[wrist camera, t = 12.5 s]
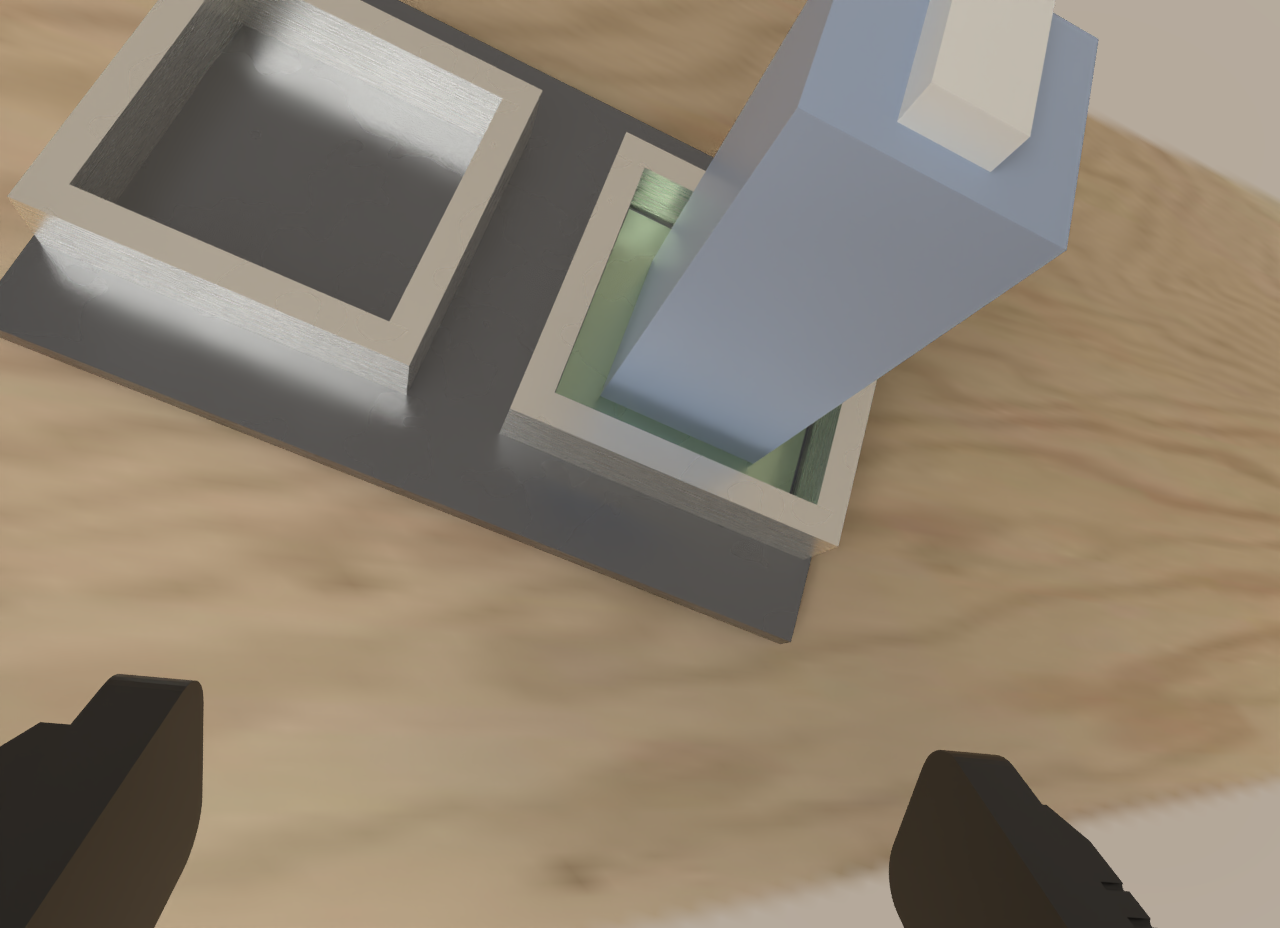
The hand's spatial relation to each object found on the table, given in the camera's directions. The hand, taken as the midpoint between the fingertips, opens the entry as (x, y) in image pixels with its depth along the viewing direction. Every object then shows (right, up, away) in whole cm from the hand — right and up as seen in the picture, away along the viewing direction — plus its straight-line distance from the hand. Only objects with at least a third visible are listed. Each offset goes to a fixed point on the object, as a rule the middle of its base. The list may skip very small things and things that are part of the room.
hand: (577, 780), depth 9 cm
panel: (-3, +8, +13) cm, 16 cm away
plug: (+2, +6, +13) cm, 15 cm away
